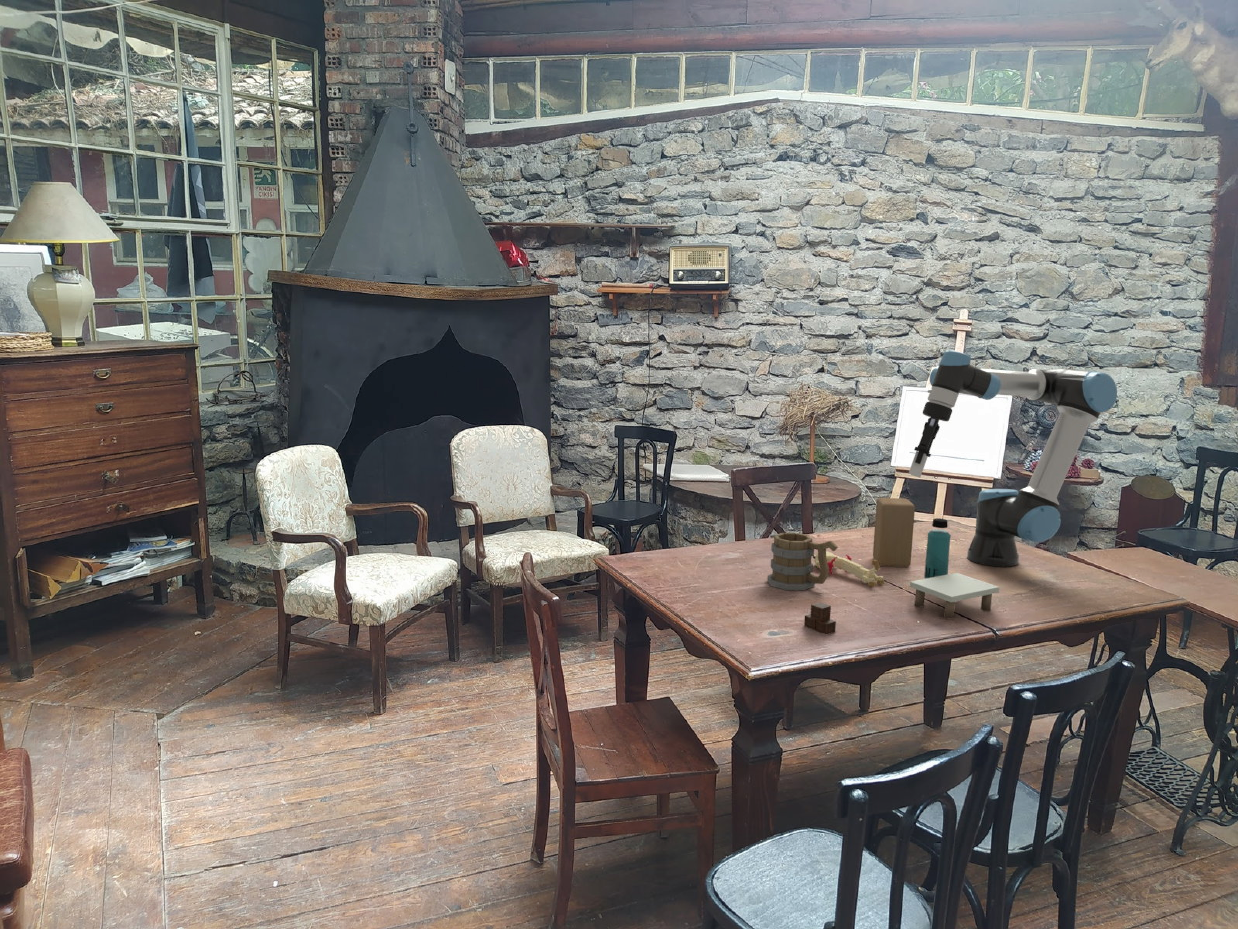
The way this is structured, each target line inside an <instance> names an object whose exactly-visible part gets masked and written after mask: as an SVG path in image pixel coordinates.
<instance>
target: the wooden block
mask: <svg viewBox="0 0 1238 929" xmlns="http://www.w3.org/2000/svg"><path fill="white" fill-rule="evenodd" d="M915 513H916V507H915V505H914V504H913V502H911V500H909V499H908V498H898V497H897V498H893V497H891V498H890V497H879V498H877V499H876V507H875V520H874V533H873V548H872V557H873V560H877V562H878V563H879V567H892V568H894V567H895V568H909V567H910V566H911V563H912V549H913V538H914V524H915V523H914V522H915Z"/></svg>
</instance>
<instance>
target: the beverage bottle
mask: <svg viewBox="0 0 1238 929" xmlns="http://www.w3.org/2000/svg"><path fill="white" fill-rule="evenodd" d="M931 526H932V527H933V528H934V529H931V530H929V532H927V542H926V550H925V551H926V552H925V553H926V555H925V560H924V561H925V564H924V573H923V574H924V575H923V576H924V577H923V579H926V578H932V577H937V576H942V575H947V574H949V564H950V563H949V562H950V560H949V559H950V558H949V556H950V544H951V534H950V533H949V531H947V530H946V529H947V528H948V526H949V524H948V520H947V519H945V518H937V517H936V518H933V519H932V524H931ZM944 529H945V530H944Z"/></svg>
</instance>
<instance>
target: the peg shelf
mask: <svg viewBox="0 0 1238 929" xmlns="http://www.w3.org/2000/svg"><path fill="white" fill-rule="evenodd" d="M909 588H912V589H914V590H915V595H914V596H915V598H914V606H915V607H917V608H924V607H925V599H926V598H925V597H926V594H928V595H930V596H933V597H936V598H938V599H941V600H943V601H944V613H943V614H944V615H943V618H945V619H947V620H953V619H954V618H955V610H956V609H955V608H956V602H960V601H965V600H969V599H970V600H971V599H973V598H979V597H981V603H980V610H982V611H985V612H989V611H991V608H992V607H991V606H992V598H993V597H992V596H993V594H998V593H999V592H1000V586H998V585H995V584H991V583H988V582H985V581H983V580H979V579H976V578H974V577H970V576H967V575H965V574H962V573H959V572H953V573H948V574H947V575H942V576H937V577H932V578H926V579H924V578H922V579H916V580H911V581H910V582H909Z"/></svg>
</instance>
